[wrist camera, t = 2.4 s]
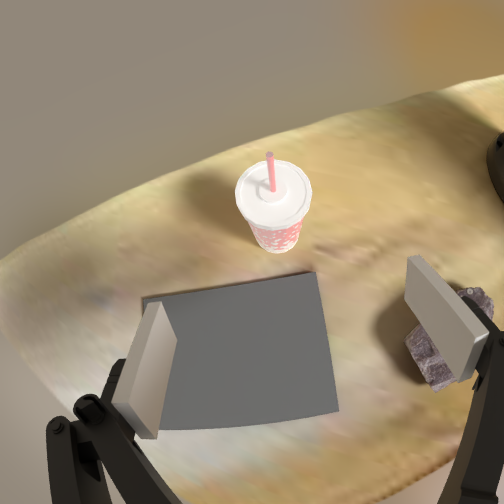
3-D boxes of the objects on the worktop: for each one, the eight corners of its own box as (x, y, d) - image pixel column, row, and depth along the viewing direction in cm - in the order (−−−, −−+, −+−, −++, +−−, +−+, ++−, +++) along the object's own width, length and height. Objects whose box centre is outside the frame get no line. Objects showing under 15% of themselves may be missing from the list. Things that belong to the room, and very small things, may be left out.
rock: (494, 333, 27) (517, 328, 22) (426, 400, 26) (445, 405, 21) (461, 277, 29) (482, 266, 25) (389, 340, 28) (405, 337, 24)
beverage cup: (306, 261, 32) (318, 197, 18) (245, 259, 32) (217, 195, 19) (306, 206, 33) (315, 120, 20) (250, 205, 34) (228, 120, 21)
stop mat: (314, 273, 31) (315, 271, 31) (337, 410, 27) (338, 411, 26) (145, 300, 32) (143, 299, 32) (161, 428, 28) (159, 429, 27)
